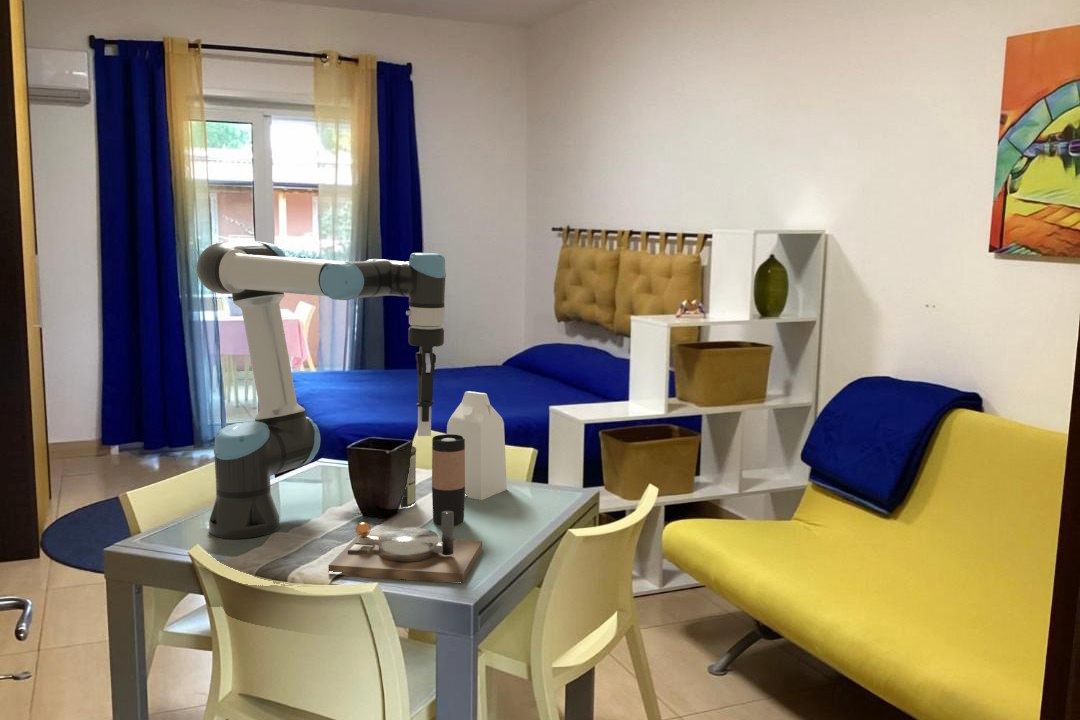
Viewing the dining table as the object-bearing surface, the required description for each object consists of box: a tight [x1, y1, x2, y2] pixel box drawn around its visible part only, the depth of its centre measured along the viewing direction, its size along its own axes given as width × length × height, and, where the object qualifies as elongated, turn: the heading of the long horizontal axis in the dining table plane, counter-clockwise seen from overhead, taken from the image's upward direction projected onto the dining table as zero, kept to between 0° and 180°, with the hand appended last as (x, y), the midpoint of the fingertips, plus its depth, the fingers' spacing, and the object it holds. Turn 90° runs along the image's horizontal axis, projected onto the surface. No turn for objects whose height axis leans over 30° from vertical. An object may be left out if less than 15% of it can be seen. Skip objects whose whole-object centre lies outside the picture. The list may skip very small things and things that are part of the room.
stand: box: [327, 533, 483, 584], centre depth 191 cm, size 27×19×3 cm
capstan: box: [355, 511, 455, 562], centre depth 190 cm, size 21×12×9 cm, turn 76°
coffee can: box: [401, 445, 417, 508], centre depth 229 cm, size 10×10×14 cm
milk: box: [446, 390, 508, 501], centre depth 241 cm, size 12×12×26 cm
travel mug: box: [431, 433, 466, 527], centre depth 216 cm, size 8×8×20 cm
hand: (424, 435), depth 201 cm, fingers closed
